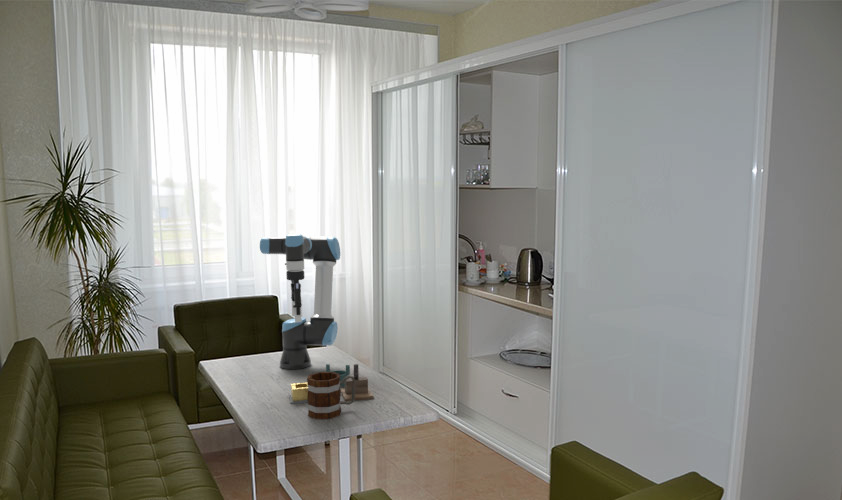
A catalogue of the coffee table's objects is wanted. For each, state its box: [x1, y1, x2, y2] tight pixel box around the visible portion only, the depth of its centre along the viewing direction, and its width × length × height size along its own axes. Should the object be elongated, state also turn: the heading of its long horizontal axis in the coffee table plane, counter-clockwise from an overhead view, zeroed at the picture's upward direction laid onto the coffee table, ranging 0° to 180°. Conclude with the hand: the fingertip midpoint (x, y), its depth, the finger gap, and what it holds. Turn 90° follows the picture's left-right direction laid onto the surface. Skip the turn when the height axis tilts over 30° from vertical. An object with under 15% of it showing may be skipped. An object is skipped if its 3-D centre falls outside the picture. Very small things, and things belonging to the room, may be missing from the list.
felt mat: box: [288, 394, 308, 405], centre depth 278 cm, size 10×10×1 cm
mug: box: [306, 371, 356, 420], centre depth 261 cm, size 20×14×15 cm
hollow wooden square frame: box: [290, 381, 308, 401], centre depth 278 cm, size 8×8×5 cm
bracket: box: [325, 363, 351, 388], centre depth 298 cm, size 9×9×9 cm
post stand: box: [340, 363, 375, 402], centre depth 282 cm, size 14×12×13 cm
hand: (296, 319), depth 286 cm, fingers open, 13 cm apart
